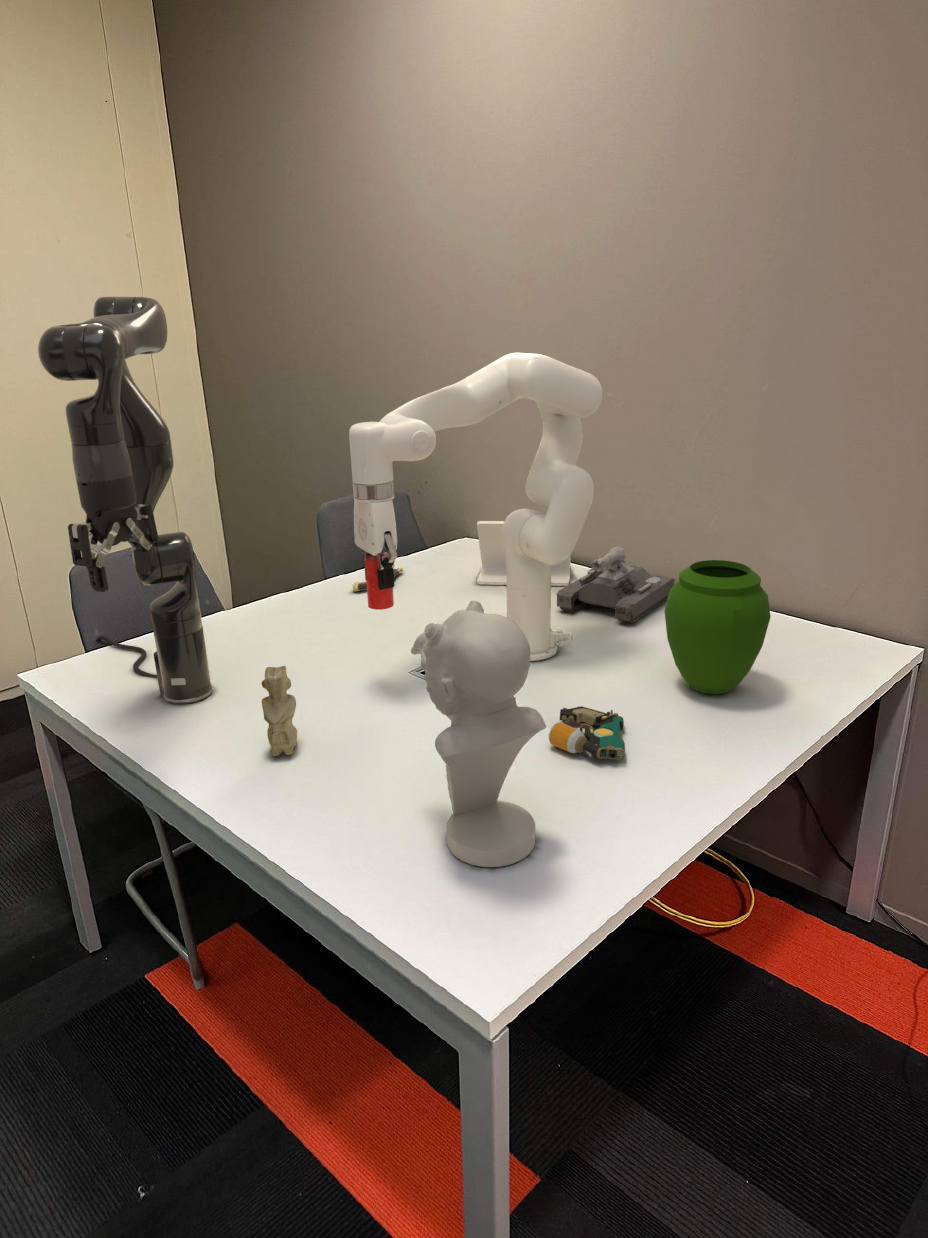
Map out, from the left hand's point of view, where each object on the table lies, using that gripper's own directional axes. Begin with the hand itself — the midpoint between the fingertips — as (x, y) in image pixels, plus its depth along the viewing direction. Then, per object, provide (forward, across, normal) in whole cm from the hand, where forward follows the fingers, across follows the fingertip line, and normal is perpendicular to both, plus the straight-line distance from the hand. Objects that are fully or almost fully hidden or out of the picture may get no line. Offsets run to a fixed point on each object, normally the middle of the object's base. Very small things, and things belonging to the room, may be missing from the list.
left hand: (123, 582), depth 127 cm
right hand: (+13, -46, +17) cm, 51 cm away
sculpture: (+35, -18, +12) cm, 41 cm away
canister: (+17, -46, +17) cm, 52 cm away
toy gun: (+35, -106, -19) cm, 113 cm away
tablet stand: (+35, -125, +17) cm, 131 cm away
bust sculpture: (+35, -7, +52) cm, 63 cm away
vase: (+35, -70, +77) cm, 110 cm away
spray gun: (+35, -40, +61) cm, 81 cm away
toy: (+35, -110, +47) cm, 125 cm away
